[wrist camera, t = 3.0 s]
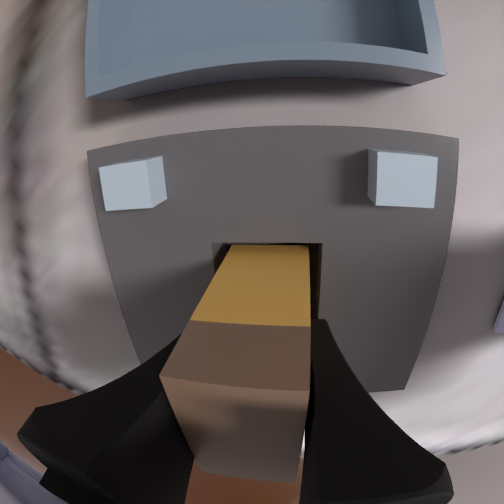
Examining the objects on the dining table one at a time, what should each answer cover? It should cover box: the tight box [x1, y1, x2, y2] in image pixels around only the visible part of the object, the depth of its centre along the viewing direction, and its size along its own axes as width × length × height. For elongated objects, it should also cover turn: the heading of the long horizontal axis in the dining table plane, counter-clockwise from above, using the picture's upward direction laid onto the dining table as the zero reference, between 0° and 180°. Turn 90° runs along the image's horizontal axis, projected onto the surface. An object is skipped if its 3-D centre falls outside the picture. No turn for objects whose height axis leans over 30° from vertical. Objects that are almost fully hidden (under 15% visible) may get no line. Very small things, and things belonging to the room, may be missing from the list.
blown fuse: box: [159, 245, 311, 482], centre depth 9 cm, size 3×5×7 cm, turn 3°
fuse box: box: [87, 126, 459, 392], centre depth 12 cm, size 14×12×3 cm
